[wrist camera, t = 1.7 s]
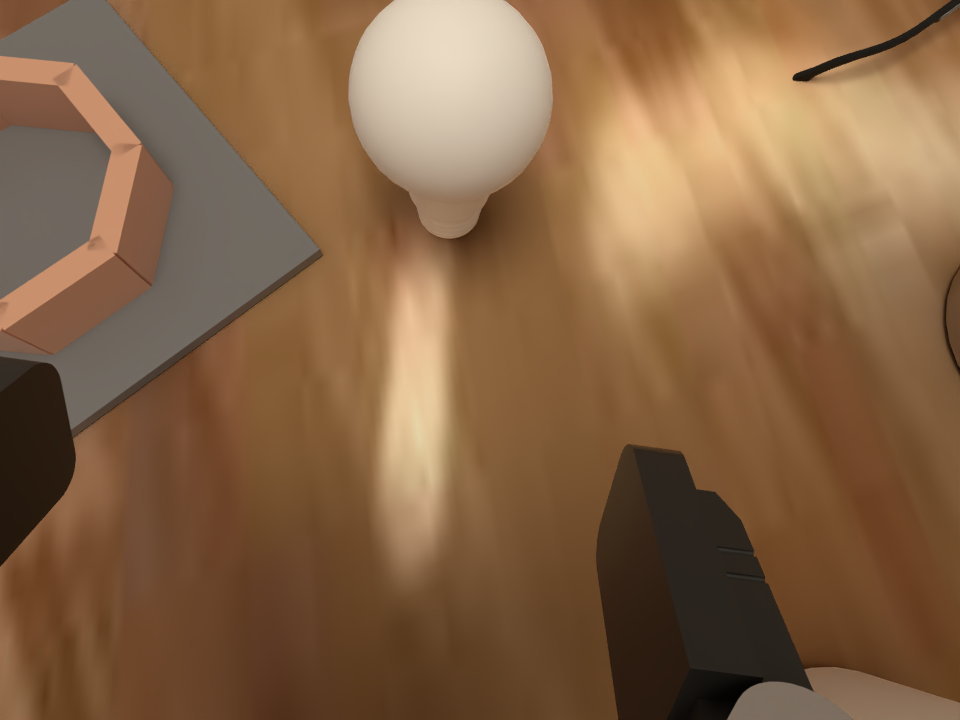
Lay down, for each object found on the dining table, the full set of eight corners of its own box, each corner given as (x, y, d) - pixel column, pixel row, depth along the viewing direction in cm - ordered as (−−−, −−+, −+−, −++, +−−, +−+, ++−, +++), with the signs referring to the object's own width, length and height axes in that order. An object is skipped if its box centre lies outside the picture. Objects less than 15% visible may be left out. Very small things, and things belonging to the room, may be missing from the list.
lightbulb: (357, 175, 28) (306, -44, 18) (494, 138, 29) (524, -92, 18) (399, 306, 27) (372, 154, 16) (542, 264, 28) (604, 93, 17)
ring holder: (100, -3, 30) (55, -75, 26) (322, 255, 27) (304, 214, 24) (-255, 203, 26) (-361, 152, 23) (-41, 519, 24) (-123, 516, 20)
